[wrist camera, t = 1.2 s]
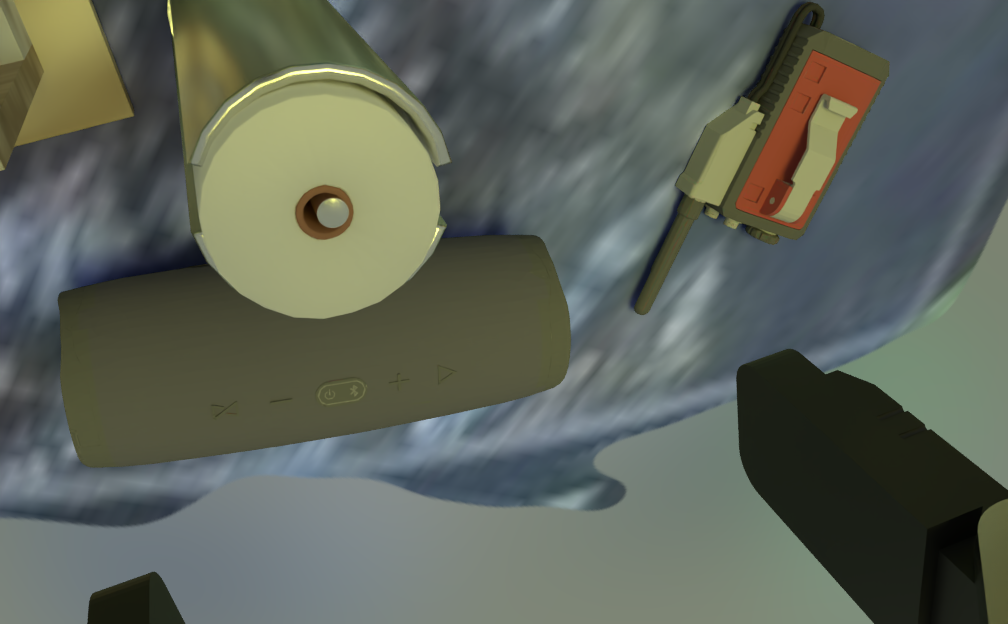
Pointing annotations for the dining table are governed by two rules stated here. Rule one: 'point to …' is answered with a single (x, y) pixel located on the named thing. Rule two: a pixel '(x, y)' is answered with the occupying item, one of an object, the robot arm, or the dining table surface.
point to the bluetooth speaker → (304, 355)
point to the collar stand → (55, 72)
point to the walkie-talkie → (777, 142)
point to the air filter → (302, 156)
